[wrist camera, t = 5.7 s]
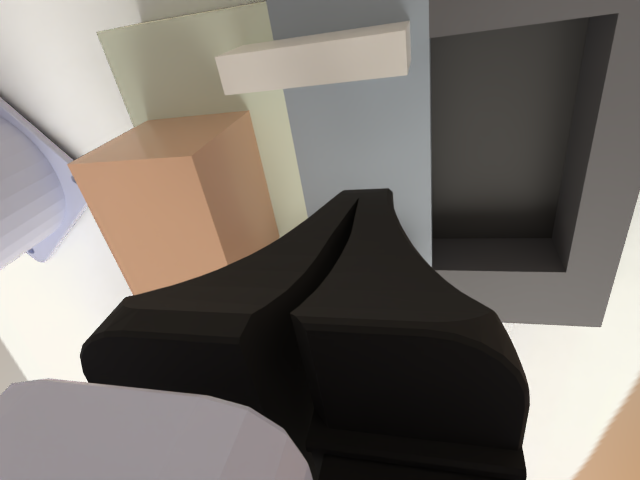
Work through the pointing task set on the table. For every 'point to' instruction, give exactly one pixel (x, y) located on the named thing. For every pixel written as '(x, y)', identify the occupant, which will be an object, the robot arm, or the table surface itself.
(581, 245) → the gray recessed tray
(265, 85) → the channel walls
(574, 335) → the table surface
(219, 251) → the terracotta block
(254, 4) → the pad
